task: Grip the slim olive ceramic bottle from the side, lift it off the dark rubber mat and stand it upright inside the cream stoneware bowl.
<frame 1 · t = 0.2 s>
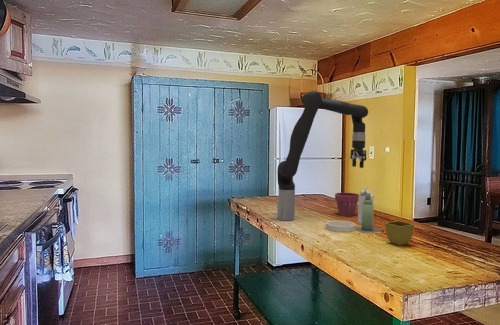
hand: (357, 167, 225), 29 cm above the table, tool pointing down, fingers open, 8 cm apart
plant pot: (346, 215, 229), on the table
olive bottle: (367, 229, 189), resting on mat
bowl: (340, 229, 191), on the table
mat: (367, 230, 189), on the table
milk carton: (365, 223, 207), on the table
flower pot: (398, 244, 165), on the table
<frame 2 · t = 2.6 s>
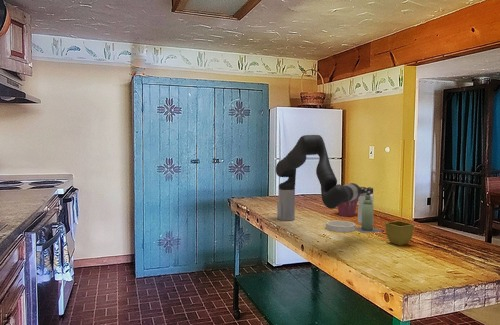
hand: (361, 188, 179), 22 cm above the table, tool horizontal, fingers open, 8 cm apart
nothing on the table moved.
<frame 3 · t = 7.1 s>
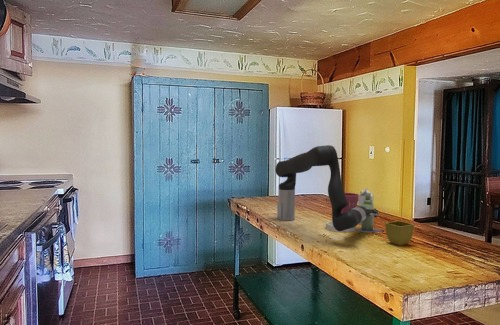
hand: (369, 209, 191), 10 cm above the table, tool horizontal, fingers closed on olive bottle, 5 cm apart
olive bottle: (367, 229, 189), resting on mat, touching gripper
everything else where it was.
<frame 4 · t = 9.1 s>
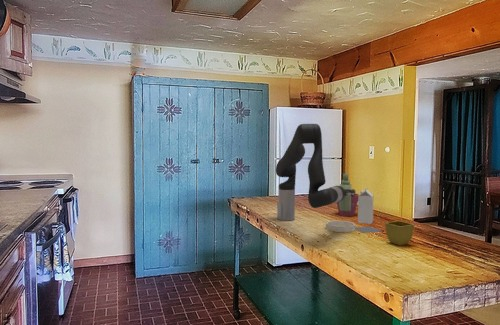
hand: (347, 190, 192), 20 cm above the table, tool horizontal, fingers closed on olive bottle, 5 cm apart
olive bottle: (344, 210, 191), point 10 cm above the table, touching gripper
everything else where it was.
when the fingers open (12 cm above the table, at t = 11.3 s): olive bottle drops 1 cm, resting on bowl.
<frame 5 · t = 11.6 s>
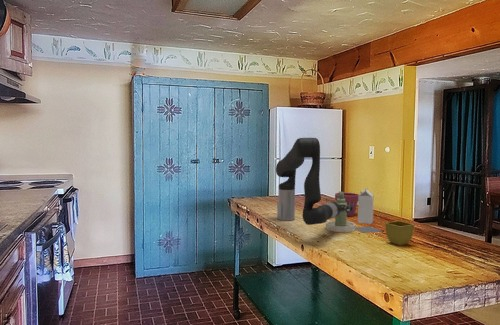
hand: (342, 205, 192), 12 cm above the table, tool horizontal, fingers open, 8 cm apart
olive bottle: (340, 227, 191), point 1 cm above the table, touching bowl
everything else where it was.
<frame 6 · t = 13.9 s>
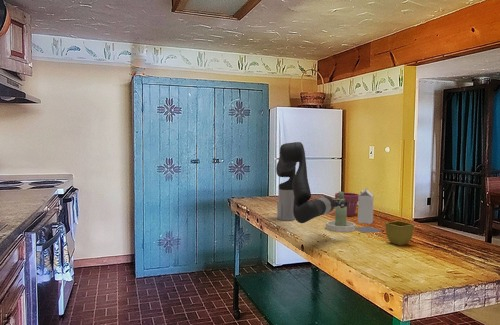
hand: (336, 200, 180), 16 cm above the table, tool horizontal, fingers open, 8 cm apart
nothing on the table moved.
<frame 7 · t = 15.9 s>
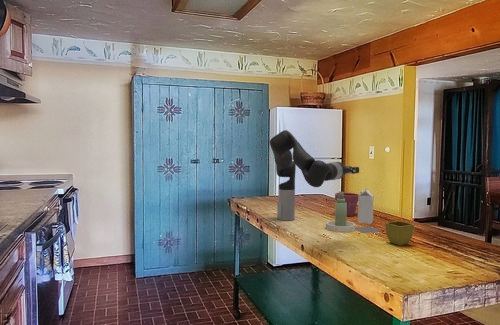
hand: (347, 168, 175), 32 cm above the table, tool horizontal, fingers open, 8 cm apart
nothing on the table moved.
at the end: olive bottle inside the target area on the bowl (0.1 cm from its centre), point 0.8 cm above the bowl's base; olive bottle tilted 0°; the gripper is holding nothing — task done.
